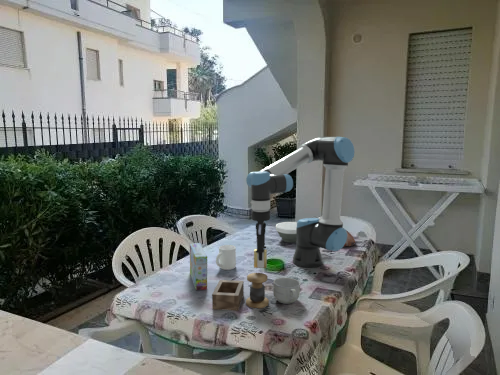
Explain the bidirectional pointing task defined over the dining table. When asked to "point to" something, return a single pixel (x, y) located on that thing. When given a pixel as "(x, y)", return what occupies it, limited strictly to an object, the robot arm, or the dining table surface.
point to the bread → (349, 240)
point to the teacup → (286, 290)
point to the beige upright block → (264, 258)
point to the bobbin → (257, 291)
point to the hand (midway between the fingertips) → (261, 265)
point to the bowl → (287, 231)
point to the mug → (226, 257)
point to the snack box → (198, 266)
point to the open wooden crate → (228, 295)
